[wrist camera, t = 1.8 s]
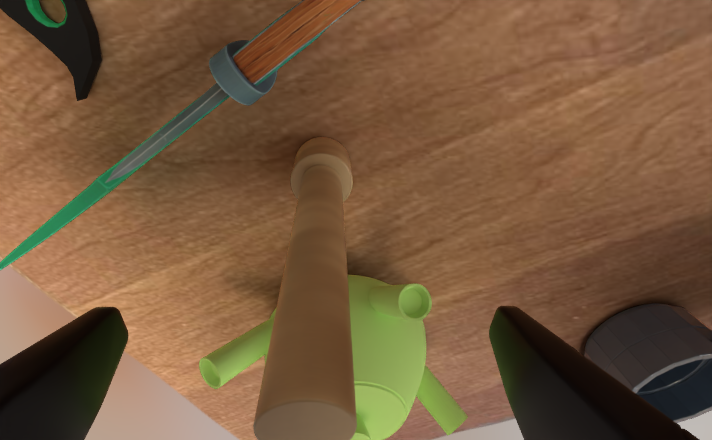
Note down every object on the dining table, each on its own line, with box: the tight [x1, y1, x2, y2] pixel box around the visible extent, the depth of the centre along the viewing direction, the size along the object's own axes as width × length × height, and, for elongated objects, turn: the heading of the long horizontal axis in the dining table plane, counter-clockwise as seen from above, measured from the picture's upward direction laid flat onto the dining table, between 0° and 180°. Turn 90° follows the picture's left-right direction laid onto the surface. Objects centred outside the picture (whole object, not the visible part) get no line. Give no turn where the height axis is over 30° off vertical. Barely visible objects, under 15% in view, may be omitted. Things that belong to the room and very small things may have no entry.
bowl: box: [584, 303, 712, 423], centre depth 24 cm, size 8×8×4 cm
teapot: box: [199, 275, 468, 440], centre depth 19 cm, size 11×12×8 cm
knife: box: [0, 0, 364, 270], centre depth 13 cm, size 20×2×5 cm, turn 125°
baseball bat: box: [253, 137, 357, 440], centre depth 11 cm, size 3×3×13 cm
